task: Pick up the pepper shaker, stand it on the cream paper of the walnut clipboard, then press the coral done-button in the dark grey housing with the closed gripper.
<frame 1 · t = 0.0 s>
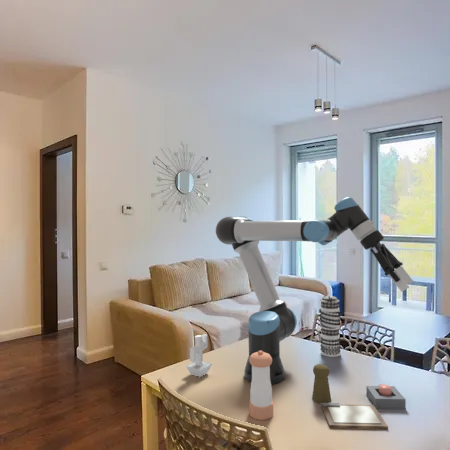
hand: (407, 286, 123), 36 cm above the table, tool tilted 35°, fingers open, 13 cm apart
decorative candle: (330, 353, 161), on the table
button housing: (385, 401, 117), on the table
done button: (385, 390, 117), point 3 cm above the table, slide at 0.0 cm
figurine: (199, 374, 141), on the table
pepper shaker: (321, 399, 120), on the table
pepper shaker 2: (261, 414, 111), on the table
clipboard: (352, 417, 108), on the table
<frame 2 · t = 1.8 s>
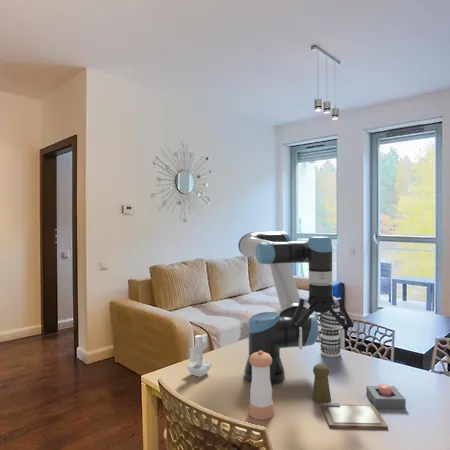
hand: (321, 348, 120), 17 cm above the table, tool pointing down, fingers open, 13 cm apart
nothing on the table moved.
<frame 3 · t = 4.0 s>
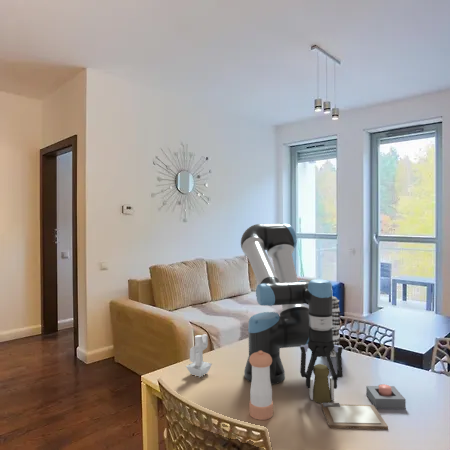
hand: (321, 397, 120), 0 cm above the table, tool pointing down, fingers closed on pepper shaker, 6 cm apart
pepper shaker: (321, 399, 120), on the table, touching gripper
everything else where it was.
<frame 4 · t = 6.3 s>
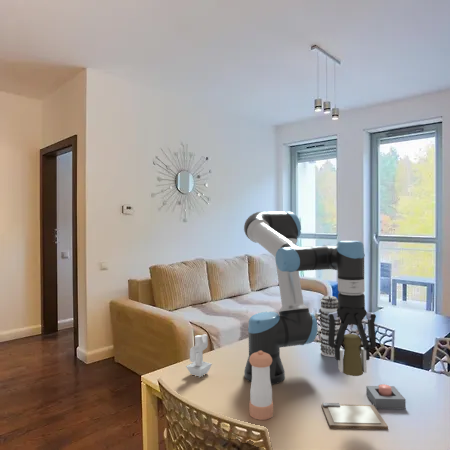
hand: (352, 370, 108), 14 cm above the table, tool pointing down, fingers closed on pepper shaker, 6 cm apart
pepper shaker: (352, 372, 108), point 13 cm above the table, touching gripper
everything else where it was.
when the fingers open (3 cm above the table, at t = 8.5 s): pepper shaker drops 1 cm, resting on clipboard.
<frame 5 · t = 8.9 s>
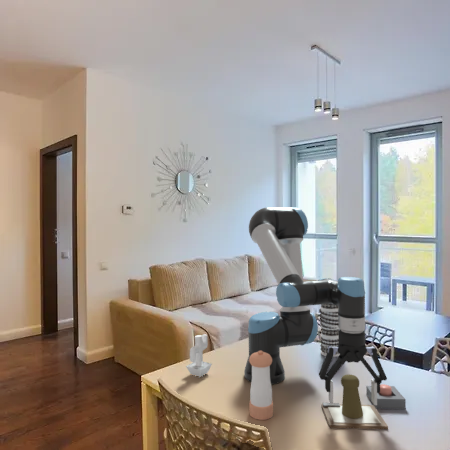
hand: (352, 402, 108), 4 cm above the table, tool pointing down, fingers open, 12 cm apart
pepper shaker: (352, 413, 108), point 1 cm above the table, touching clipboard
everything else where it was.
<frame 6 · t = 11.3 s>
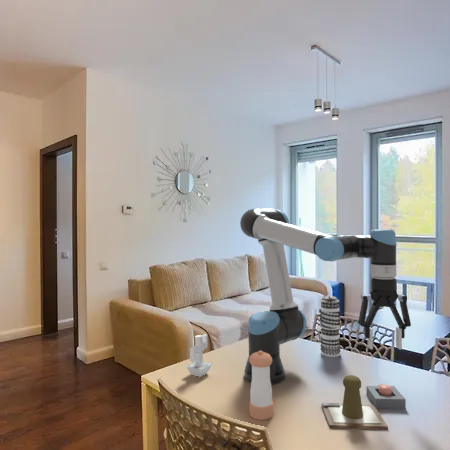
hand: (384, 347, 117), 17 cm above the table, tool pointing down, fingers open, 8 cm apart
nothing on the table moved.
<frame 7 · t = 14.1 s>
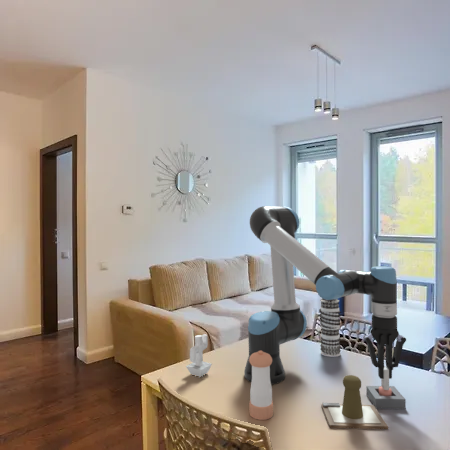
hand: (385, 388, 117), 4 cm above the table, tool pointing down, fingers closed
done button: (385, 392, 117), point 3 cm above the table, slide at 0.6 cm, touching gripper
everything else where it was.
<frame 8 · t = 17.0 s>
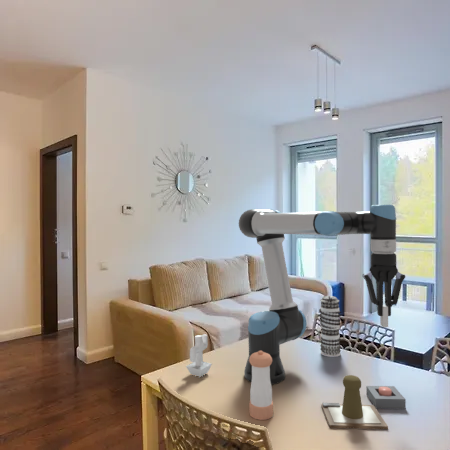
hand: (384, 325, 117), 24 cm above the table, tool pointing down, fingers closed
done button: (385, 392, 117), point 3 cm above the table, slide at 0.7 cm
everything else where it was.
at the end: pepper shaker inside the target area on the clipboard (0.1 cm from its centre), point 0.8 cm above the clipboard's base; pepper shaker tilted 0°; done button slide at 0.7 cm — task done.
